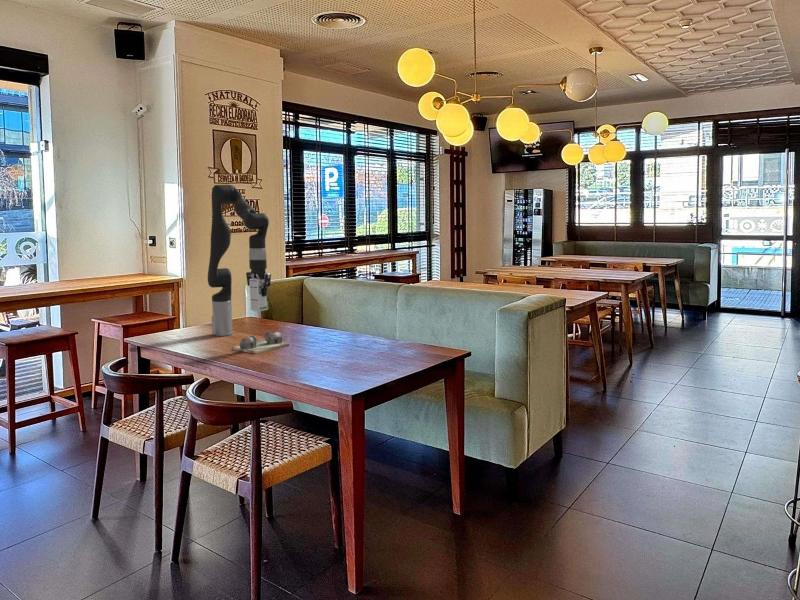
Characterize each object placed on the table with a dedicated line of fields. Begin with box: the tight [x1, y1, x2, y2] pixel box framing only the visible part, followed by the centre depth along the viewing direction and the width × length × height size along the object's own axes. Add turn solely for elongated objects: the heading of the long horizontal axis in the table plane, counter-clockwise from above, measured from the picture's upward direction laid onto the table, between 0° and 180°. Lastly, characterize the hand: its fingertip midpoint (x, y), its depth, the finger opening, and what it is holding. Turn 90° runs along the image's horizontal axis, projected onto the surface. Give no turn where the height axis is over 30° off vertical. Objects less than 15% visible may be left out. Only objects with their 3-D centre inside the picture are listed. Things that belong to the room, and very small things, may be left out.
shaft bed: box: [231, 331, 290, 355], centre depth 284 cm, size 16×21×6 cm
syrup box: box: [249, 278, 269, 312], centre depth 281 cm, size 6×6×14 cm
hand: (259, 295), depth 281 cm, fingers closed on syrup box, 6 cm apart
